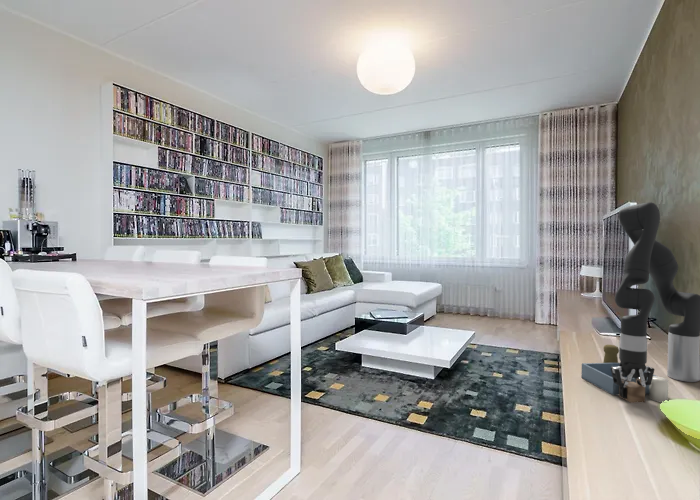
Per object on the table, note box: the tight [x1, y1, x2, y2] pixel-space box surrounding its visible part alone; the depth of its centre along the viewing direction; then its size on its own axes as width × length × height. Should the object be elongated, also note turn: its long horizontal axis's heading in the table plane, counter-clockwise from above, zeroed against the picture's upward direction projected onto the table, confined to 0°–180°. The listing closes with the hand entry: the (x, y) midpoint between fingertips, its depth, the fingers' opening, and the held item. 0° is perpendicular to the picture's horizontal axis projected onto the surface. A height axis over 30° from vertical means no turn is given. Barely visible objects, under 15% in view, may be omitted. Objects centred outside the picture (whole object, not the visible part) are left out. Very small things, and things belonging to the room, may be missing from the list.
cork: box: [602, 344, 619, 363], centre depth 157 cm, size 6×6×11 cm
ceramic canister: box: [648, 375, 669, 403], centre depth 131 cm, size 5×5×7 cm
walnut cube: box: [618, 382, 646, 404], centre depth 131 cm, size 5×5×5 cm
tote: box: [581, 362, 657, 396], centre depth 143 cm, size 18×17×6 cm
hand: (631, 397), depth 131 cm, fingers closed on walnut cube, 5 cm apart
